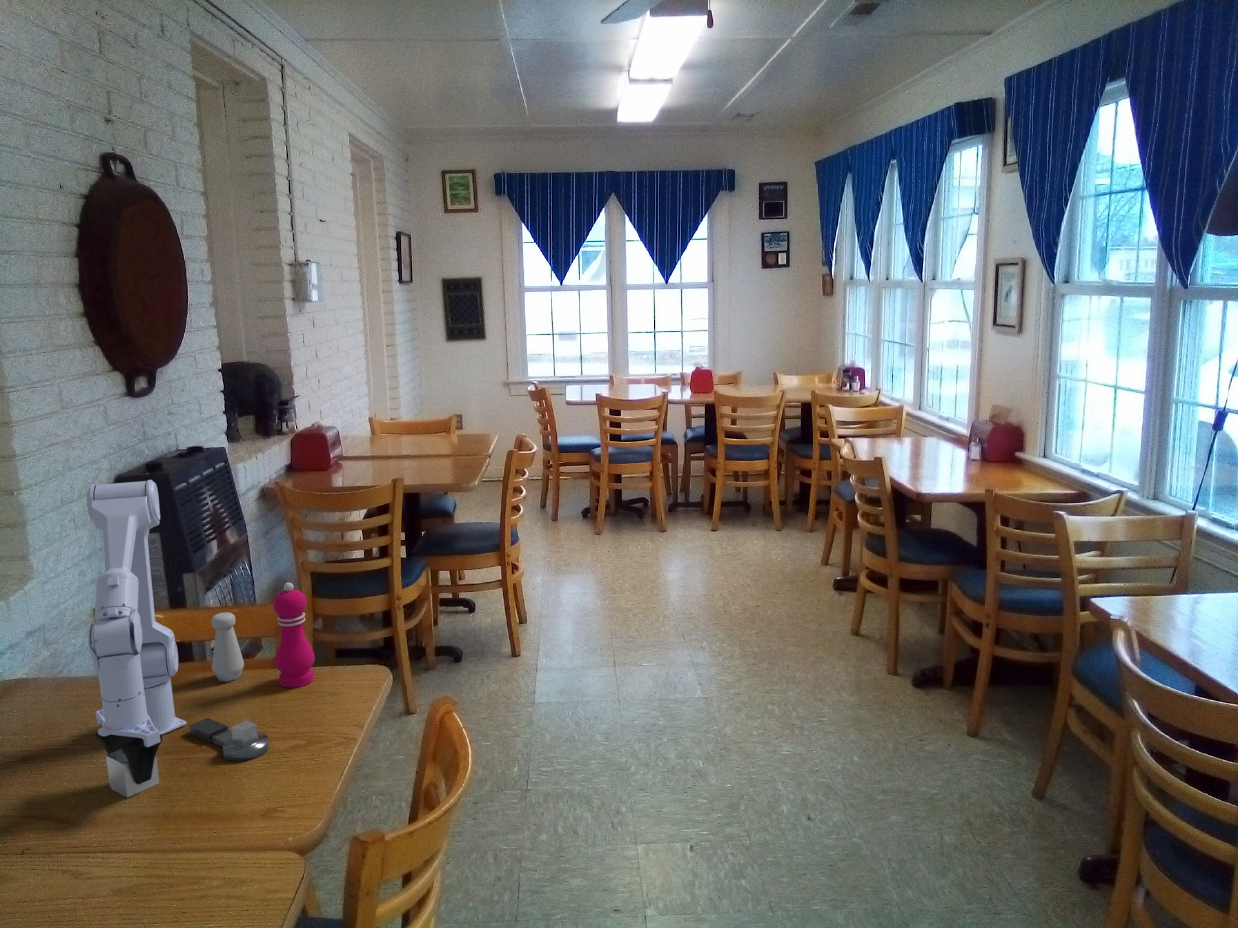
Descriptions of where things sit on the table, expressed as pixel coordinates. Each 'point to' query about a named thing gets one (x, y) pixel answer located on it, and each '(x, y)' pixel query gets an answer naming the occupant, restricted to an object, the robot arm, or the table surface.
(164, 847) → the table surface
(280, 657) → the pepper mill
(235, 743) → the ratchet
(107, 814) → the table surface
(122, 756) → the metal cube
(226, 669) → the salt shaker
